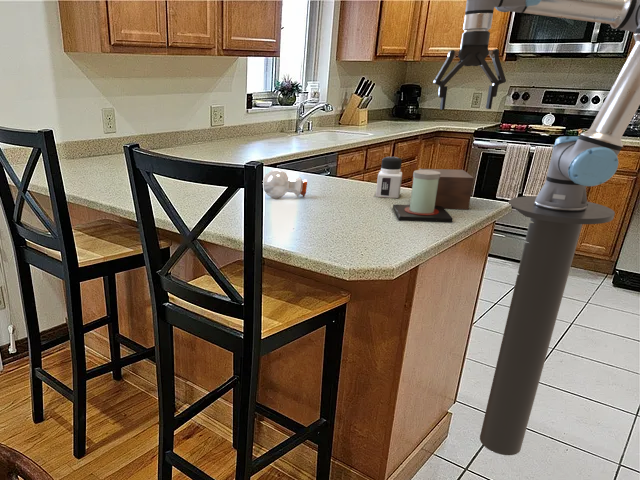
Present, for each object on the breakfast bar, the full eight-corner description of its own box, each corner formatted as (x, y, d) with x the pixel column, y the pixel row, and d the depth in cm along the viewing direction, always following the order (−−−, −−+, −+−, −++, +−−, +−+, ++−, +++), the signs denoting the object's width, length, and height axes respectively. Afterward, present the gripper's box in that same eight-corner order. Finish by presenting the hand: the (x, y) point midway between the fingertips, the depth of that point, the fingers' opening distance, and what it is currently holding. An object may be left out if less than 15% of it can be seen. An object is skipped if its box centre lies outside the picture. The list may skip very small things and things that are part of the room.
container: (398, 198, 180) (403, 159, 174) (375, 196, 182) (379, 158, 177) (399, 193, 186) (404, 156, 181) (377, 192, 189) (381, 155, 183)
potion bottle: (259, 200, 183) (301, 205, 184) (262, 189, 173) (307, 194, 174) (261, 175, 185) (303, 180, 186) (265, 163, 175) (309, 168, 176)
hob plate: (441, 209, 166) (442, 205, 165) (452, 222, 152) (452, 217, 151) (392, 208, 167) (393, 203, 167) (398, 220, 154) (399, 215, 153)
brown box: (458, 199, 178) (463, 169, 174) (468, 209, 166) (474, 177, 162) (415, 198, 180) (419, 168, 176) (422, 208, 168) (427, 176, 164)
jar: (432, 207, 162) (437, 170, 157) (436, 214, 155) (443, 174, 151) (406, 206, 163) (411, 169, 158) (410, 213, 156) (415, 174, 152)
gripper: (516, 30, 154) (503, 107, 162) (429, 33, 156) (420, 108, 165) (526, 29, 147) (512, 109, 155) (434, 31, 150) (425, 110, 158)
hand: (465, 109), depth 160 cm, fingers open, 13 cm apart
